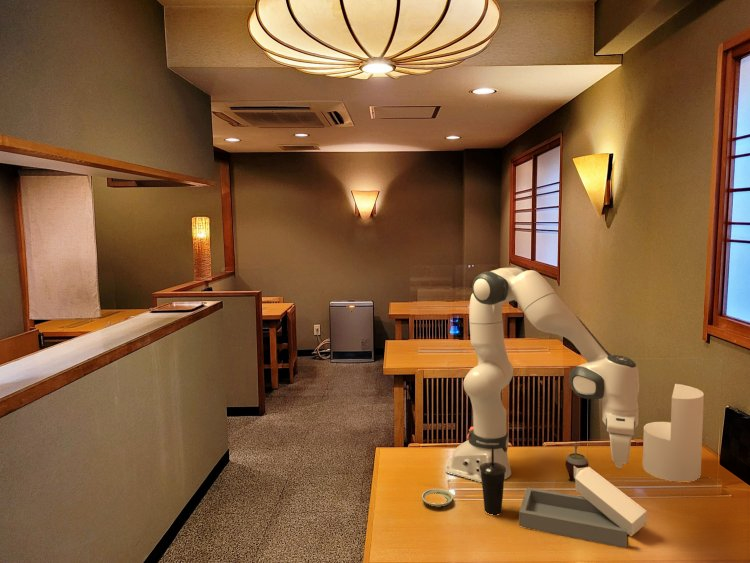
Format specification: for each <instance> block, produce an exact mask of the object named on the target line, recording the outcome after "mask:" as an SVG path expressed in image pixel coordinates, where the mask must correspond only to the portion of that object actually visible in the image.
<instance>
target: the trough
mask: <svg viewBox="0 0 750 563" xmlns="http://www.w3.org/2000/svg"><path fill="white" fill-rule="evenodd" d="M523 495H524V496H523V499H522V502H521V505H520V508H519V511H518V514H519V515H518V516H519V517H518V524H519V525H518V526H522V527H526V528H525V529H527V528H530V529H529V530H532V529H535V530H534V531H537V530H539V531H538V532H542V531H543V532H544V533H547V532H548V533H547V534H553V535H557V536H564V537H569V538H574V539H579V540H584V541H590V542H594V543H600V544H602V545H603V544H604V545H610V546H614V547H618V548H625V549H627V548H628V546H627V542H628V541H627V540H628V538H627V537H628V536H627V535H628V533H627V529H625V528H620V527H619V526H618V525H617V524H616V523H614V522H613V521H612V520H611V519H610V518H608V517H607V516H606V515H605V514H603V513H602V512H601V511H600V510H599V509H597V508H596V507H595V506H594V505H593V504H591V503H590V502H589V501H588V500H587V499H585V498H584V497H583V496H582V495H581V496H580V495H575V494H569V493H562V492H556V491H551V490H546V489H539V488H533V487H528V486H527V487H526V488H525V492H524V494H523ZM522 527H521V528H522Z"/></svg>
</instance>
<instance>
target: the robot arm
mask: <svg viewBox="0 0 750 563" xmlns="http://www.w3.org/2000/svg"><path fill="white" fill-rule="evenodd" d="M471 285H472V286H471V287H472V288H471V292H472V294H471V296H470V300H469V308H468V309H469V310H468V318H469V320H468V322H469V335H470V336H469V338H470V339H469V340H470V345H471V347H472V348H473V349H474V352H475V355H476V358H477V365H476V366H474V367H472V368H471V369H469V371H468V373H466V375H465V377H464V380H463V389H464V392H465V393H466V395H467V396H468V397H469V399H470V403H471V406H472V415H473V416H472V419H473V426H470V428H469V429H468V432H467V436H466V438H467V440H466V441H464V442H462V443H461V444H459V445H458V446H457V447H456V448H455V449H454V451H453V452H452V457H451V458H449V460H448V461H447V462H446V464H445V465H444V470H445V469H446V471H447V472H449V473H452V474H455V475H458V476H461V477H465V478H468V479H471V480H470V481H472V480H475V481H474V482H476V481H478V482H477V483H480V482H482V479H481V471H480V465H481V464H483V463H488V462H492V460H491V447H494V462H495V463H499V464H502V465H503V466H505V468H506V472H505V477H504V480H507V479H508V478H510V476H511V475H512V470H511V466H510V462H509V457H508V456H509V455H508V449H509V435H508V431H507V411H506V409H505V407H504V405H503V401H502V399H501V397H502V396H501V393H502V390H503V389H504V388H506V387H507V386H508V385H509V384H510V382H511V381H512V378H513V376H514V372H515V371H514V366H513V364H512V363H511V361H510V360H509V356H508V353H507V349H506V344H505V336H504V321H503V306H504V305H505V303H511V302H516V303H517V304H518V305H519V307H520V308H521V310H522V312H523V313H524V315H525V316H526V318H527V320H528V321H529V322H530V324H531V325H532V326H533V327H534V328H535V329H537V330H538V331H541V332H542V333H547V334H553V335H557V336H560V337H563V338H565V339H567V340H568V341H570V342H571V343H572V344H573V345H574V347H575V348H576V349H577V350H578V352H579V353H580V354H581V356H582V357H583V359H585V360H586V362H585V363H582V364H579V365H577V366H575V367H573V368H572V369H571V370H570V372H569V375H568V376H569V377H568V383H569V386H570V388H571V391H573V393H574V394H575V395H576V396H578V397H580V398H582V399H586V400H599V401H600V400H601V403H602V408H601V409H602V414H601V416H602V418H601V419H602V422H603V423H604V425H605V428H606V432H607V433H608V435H609V445H610V454H611V460H612V462H613V463H615V467H616V468H620V469H621V468H624V465H627V464H628V462H629V458H630V452H631V445H632V444H631V443H632V436H634V435H635V430H636V428H637V426H638V425H639V409H640V408H639V402H638V396H639V393H640V378H639V377H640V376H639V369H638V366H637V364H636V362H635V361H634V360H633V359H631V358H629V357H627V356H623V355H616V354H611V353H610V352H608V350H607V349H605V348H604V346H603V345H602V344H601V342H600V341H599V339H597V338H596V336H594V334H593V333H592V332H591V331H590V329H589V328H588V327H587V326H586V325H585V323H584V322H583V321H582V319H580V318H579V317H578V316H577V315H576V314H575V313H573V311H571V309H569V308H568V307H567V306H566V304H565V303H564V302H563V300H562V299H561V298H560V297H559V296H558V294H557V293H556V291H555V290H554V288H553V287H552V285H551V284H549V282H548V281H547V280H546V279H545V278H544V277H543V276H542V275H541V274H540V272H538V271H536V270H533V269H530V270H527V269H525V268H523V267H519V266H513V267H502V268H501V267H500V268H497V269H494V270H489V271H483V272H481V273H480V274H478V275H477V276H475V278H474V279H473V281H472V284H471ZM446 471H445V472H446ZM461 477H460V478H461ZM465 478H464V479H465ZM468 479H467V480H468Z"/></svg>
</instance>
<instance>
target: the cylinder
mask: <svg viewBox="0 0 750 563" xmlns="http://www.w3.org/2000/svg"><path fill="white" fill-rule="evenodd" d="M672 391H673V392H672V395H671V405H670V406H671V408H670V409H671V410H670V421H652V422H649V423H646V424H645V425H644V426H643V440H642V441H643V446H642V468H643V470H644V471H645V472H646V473H647V474H649V475H651V476H653V477H654V476H655V477H654V478H657V477H658V478H657V479H660V478H661V479H660V480H663V479H665V480H664V481H667V480H671V481H670V482H672V481H693V480H697V479H698V478H701V477H700V476H702V457H703V456H702V454H703V452H702V450H703V449H702V448H703V430H704V429H703V425H704V424H703V423H704V422H703V421H704V401H705V400H704V399H705V398H704V396H705V394H704V392H703V391H702V390H700V389H699V388H696V387H693V386H689V385H685V384H679V383H675V384H674V387H673V390H672ZM698 480H699V479H698ZM698 480H697V481H698Z"/></svg>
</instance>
